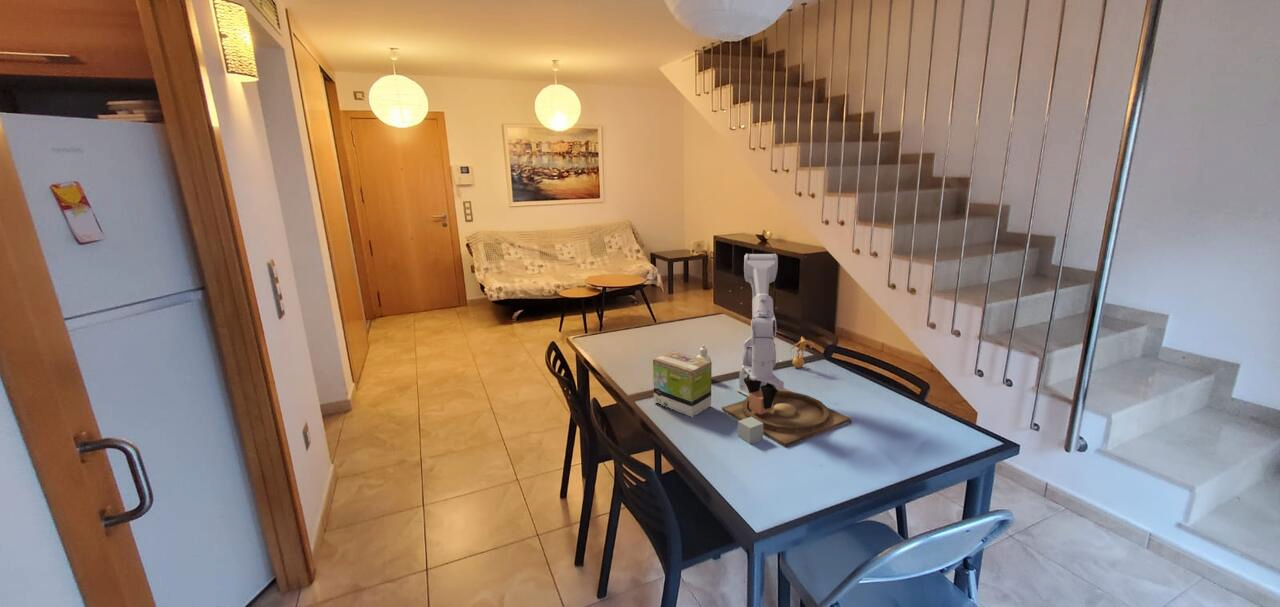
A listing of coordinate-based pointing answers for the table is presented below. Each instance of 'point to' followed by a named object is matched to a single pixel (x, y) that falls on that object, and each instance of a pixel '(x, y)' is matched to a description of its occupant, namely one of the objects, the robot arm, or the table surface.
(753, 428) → the grey cube
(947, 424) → the table surface
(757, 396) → the orange cube
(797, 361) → the figurine
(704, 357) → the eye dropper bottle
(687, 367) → the tea box
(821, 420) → the groove tray
